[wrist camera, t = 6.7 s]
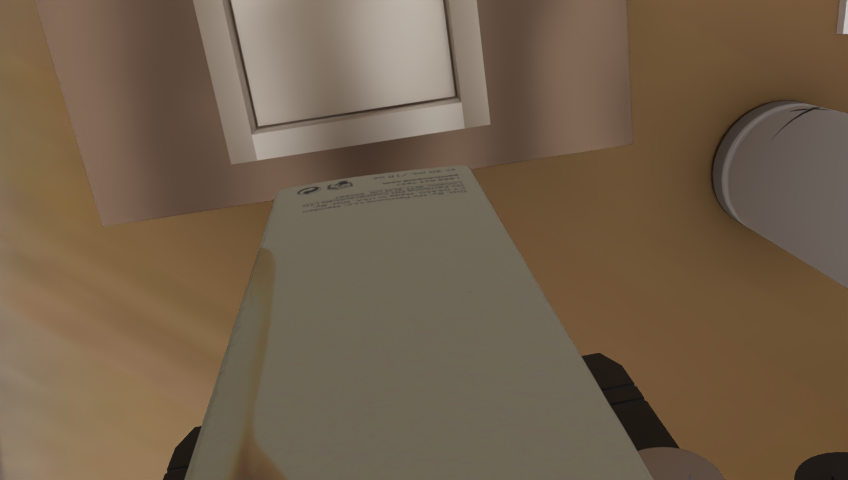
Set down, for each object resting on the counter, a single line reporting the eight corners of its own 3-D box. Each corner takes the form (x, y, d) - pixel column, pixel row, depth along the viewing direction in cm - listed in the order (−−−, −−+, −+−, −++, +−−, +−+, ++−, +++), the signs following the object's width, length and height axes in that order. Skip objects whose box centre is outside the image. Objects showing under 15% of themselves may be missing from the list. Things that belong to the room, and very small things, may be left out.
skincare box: (271, 185, 15) (23, 756, 4) (472, 157, 16) (793, 627, 4) (320, 440, 18) (251, 1290, 6) (497, 413, 18) (753, 1187, 6)
